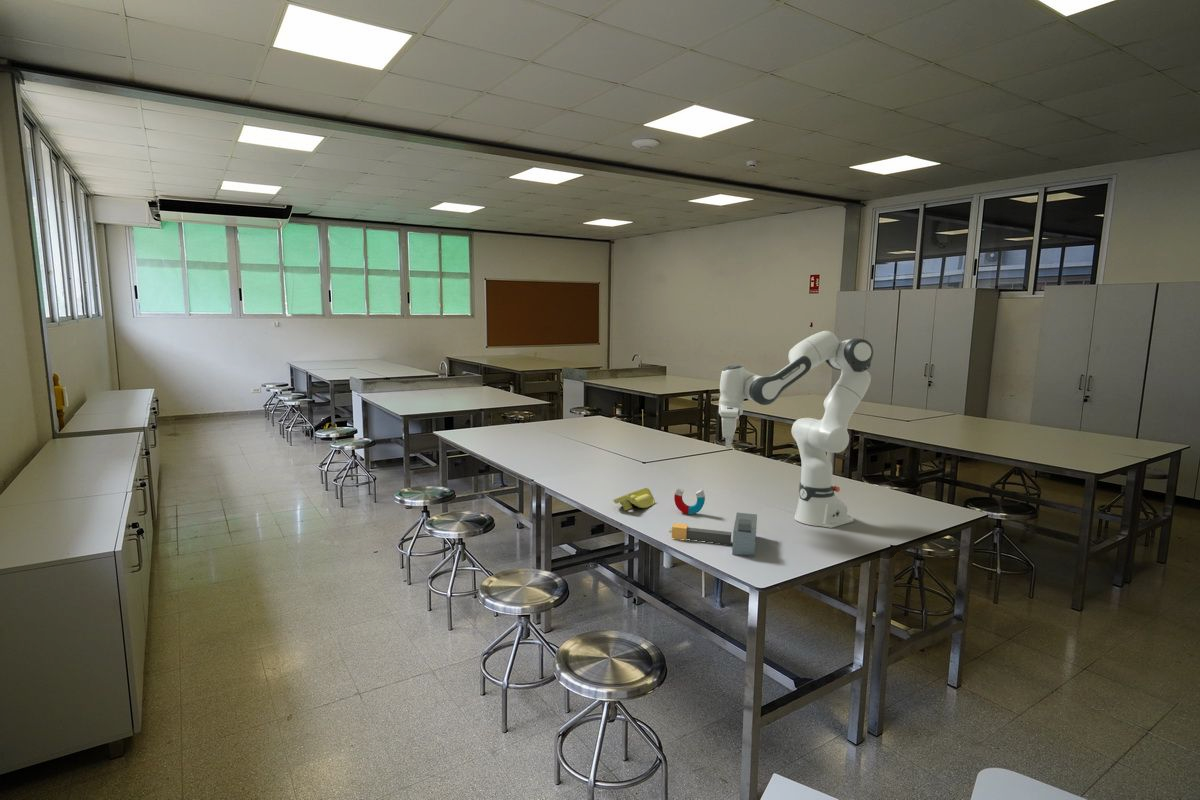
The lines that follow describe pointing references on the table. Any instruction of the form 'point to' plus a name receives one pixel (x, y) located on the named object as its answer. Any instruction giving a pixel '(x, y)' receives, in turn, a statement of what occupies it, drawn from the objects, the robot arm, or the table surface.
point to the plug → (700, 534)
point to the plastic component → (636, 499)
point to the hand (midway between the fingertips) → (729, 445)
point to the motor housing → (744, 534)
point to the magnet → (686, 508)
